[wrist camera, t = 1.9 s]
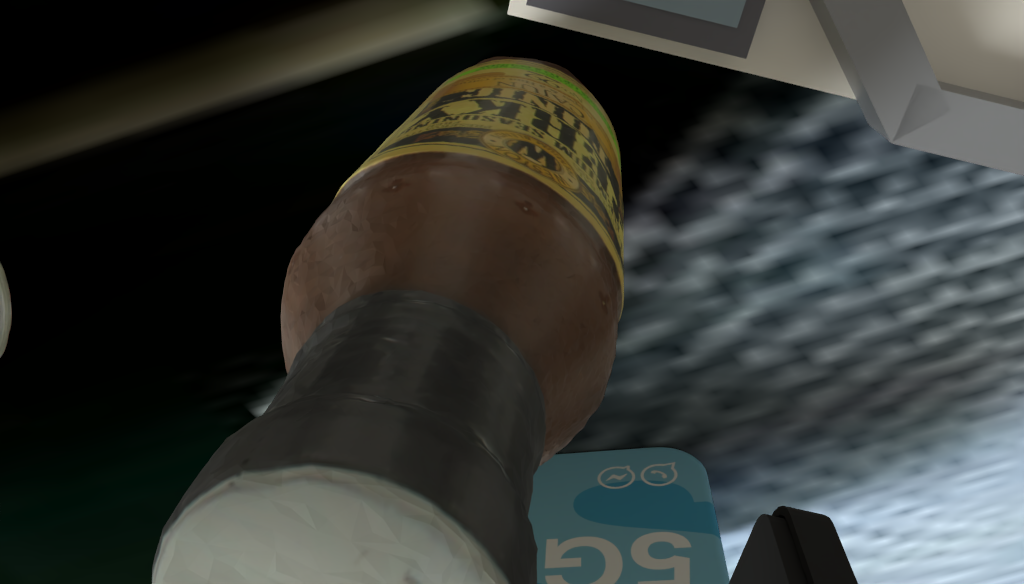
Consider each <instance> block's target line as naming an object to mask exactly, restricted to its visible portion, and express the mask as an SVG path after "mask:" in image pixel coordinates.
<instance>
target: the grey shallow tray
mask: <svg viewBox="0 0 1024 584" xmlns="http://www.w3.org/2000/svg"><path fill="white" fill-rule="evenodd" d="M526 3H527V0H510V4H509V8H508V13H507V14H509V15H513V16H517V17H521V18H525V19H529V20H533V21H537V22H542V23H546V24H550V25H554V26H558V27H562V28H566V29H570V30H574V31H578V32H582V33H586V34H591V35H595V36H599V37H603V38H607V39H611V40H615V41H619V42H623V43H627V44H631V45H635V46H640V47H644V48H648V49H652V50H656V51H660V52H664V53H668V54H672V55H676V56H680V57H685V58H689V59H693V60H697V61H701V62H705V63H709V64H713V65H717V66H721V67H725V68H729V69H734V70H738V71H742V72H746V73H750V74H754V75H758V76H762V77H766V78H770V79H774V80H778V81H783V82H787V83H791V84H795V85H799V86H803V87H807V88H811V89H815V90H819V91H823V92H828V93H832V94H836V95H840V96H844V97H848V98H852V99H856V100H857V101H858V104H859V106H860V108H861V110H862V112H863V114H864V116H865V118H866V120H867V122H868V124H869V125H870V126H871V127H872V128H873V129H875V130H876V131H877V132H878V133H880V134H881V135H882V136H883V137H885V138H886V139H887V140H888V141H890V142H891V143H892V144H896V145H900V146H905V147H909V148H913V149H917V150H921V151H925V152H929V153H933V154H937V155H941V156H946V157H950V158H954V159H958V160H962V161H966V162H970V163H974V164H978V165H982V166H987V167H991V168H995V169H999V170H1003V171H1007V172H1011V173H1015V174H1019V175H1023V176H1024V0H766V1H765V4H764V7H763V10H762V13H761V16H760V19H759V22H758V25H757V28H756V31H755V34H754V37H753V40H752V43H751V46H750V49H749V52H748V55H747V58H746V59H745V58H741V57H737V56H732V55H728V54H724V53H720V52H716V51H712V50H708V49H704V48H700V47H696V46H692V45H688V44H684V43H679V42H675V41H671V40H667V39H663V38H659V37H655V36H651V35H647V34H643V33H639V32H635V31H630V30H626V29H622V28H618V27H614V26H610V25H606V24H602V23H598V22H594V21H590V20H586V19H582V18H577V17H573V16H569V15H565V14H561V13H557V12H553V11H549V10H545V9H541V8H537V7H533V6H528V5H526Z"/></svg>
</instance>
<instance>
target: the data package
mask: <svg viewBox="0 0 1024 584" xmlns="http://www.w3.org/2000/svg"><path fill="white" fill-rule="evenodd" d="M528 518H529V520H530V522H531V524H532V528H533V534H534V539H535V542H536V545H537V548H538V551H537V584H729V582H730V581H729V576H728V571H727V566H726V561H725V557H724V552H723V547H722V542H721V537H720V533H719V528H718V523H717V518H716V513H715V509H714V504H713V499H712V494H711V489H710V485H709V480H708V475H707V472H706V469H705V468H704V466H703V465H702V463H701V462H700V461H699V460H698V459H696V458H695V457H694V456H692V455H690V454H688V453H686V452H684V451H681V450H678V449H673V448H666V447H651V448H637V449H624V450H610V451H596V452H582V453H568V454H555V455H554V456H553V457H552V458H551V459H550V460H548V461H547V462H545V463H544V464H543V465H541V466H539V467H538V469H537V471H536V472H535V474H534V475H533V493H532V496H531V503H530V508H529V513H528Z"/></svg>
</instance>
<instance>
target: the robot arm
mask: <svg viewBox="0 0 1024 584" xmlns="http://www.w3.org/2000/svg"><path fill="white" fill-rule="evenodd" d="M729 584H858V583H857V580H856V578H855V576H854V573H853V571H852V568H851V566H850V563H849V561H848V558H847V556H846V554H845V551H844V549H843V546H842V544H841V541H840V539H839V537H838V534H837V532H836V529H835V527H834V524H833V522H832V521H831V519H830V518H829V517H827V516H826V515H822V514H818V513H813V512H809V511H804V510H800V509H795V508H791V507H786V506H780V507H778V508H777V509H776V510H775V511H774V513H773V514H772V516H771V515H767V514H762V515H761V516H760V517H759V518H758V519H757V521H756V523H755V525H754V527H753V530H752V532H751V534H750V536H749V539H748V541H747V543H746V546H745V548H744V550H743V552H742V555H741V557H740V559H739V562H738V564H737V566H736V568H735V571H734V573H733V575H732V577H731V580H730V582H729Z"/></svg>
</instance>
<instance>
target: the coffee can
mask: <svg viewBox="0 0 1024 584" xmlns="http://www.w3.org/2000/svg"><path fill="white" fill-rule="evenodd" d="M11 320H12V309H11V298H10V291H9V287H8V283H7V279H6V276H5V272H4V269H3V267H2V265H1V263H0V358H1V356H2V354H3V353H4V351H5V348H6V345H7V341H8V335H9V331H10V327H11Z"/></svg>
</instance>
